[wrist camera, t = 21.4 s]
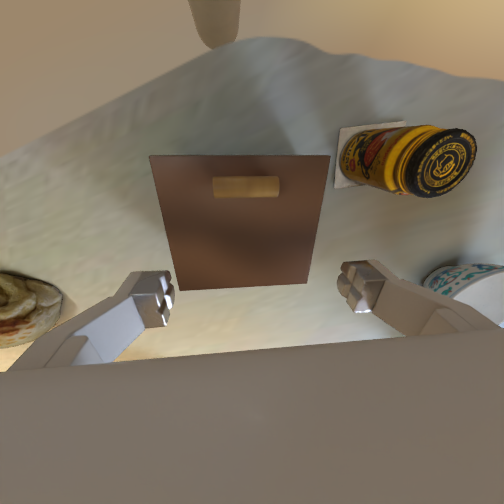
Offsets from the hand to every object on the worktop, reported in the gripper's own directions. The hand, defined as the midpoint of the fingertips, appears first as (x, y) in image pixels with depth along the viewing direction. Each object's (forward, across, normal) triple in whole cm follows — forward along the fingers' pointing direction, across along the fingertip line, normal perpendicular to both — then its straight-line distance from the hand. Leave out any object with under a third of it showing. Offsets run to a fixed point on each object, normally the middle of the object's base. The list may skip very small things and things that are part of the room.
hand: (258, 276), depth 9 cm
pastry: (+20, +36, +18) cm, 45 cm away
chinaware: (+20, -39, +18) cm, 48 cm away
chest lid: (+12, 0, +3) cm, 12 cm away
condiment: (+20, -17, -4) cm, 27 cm away
